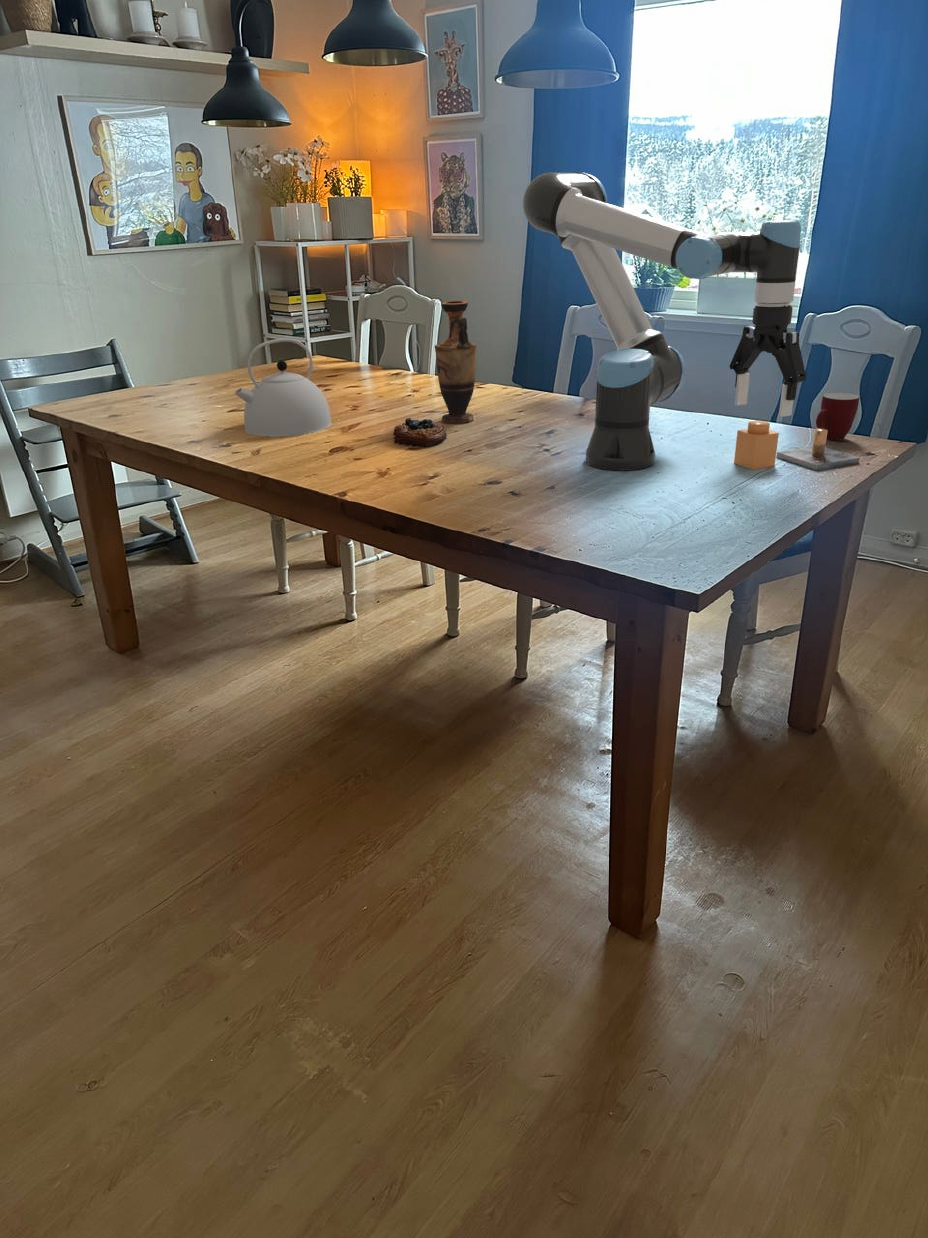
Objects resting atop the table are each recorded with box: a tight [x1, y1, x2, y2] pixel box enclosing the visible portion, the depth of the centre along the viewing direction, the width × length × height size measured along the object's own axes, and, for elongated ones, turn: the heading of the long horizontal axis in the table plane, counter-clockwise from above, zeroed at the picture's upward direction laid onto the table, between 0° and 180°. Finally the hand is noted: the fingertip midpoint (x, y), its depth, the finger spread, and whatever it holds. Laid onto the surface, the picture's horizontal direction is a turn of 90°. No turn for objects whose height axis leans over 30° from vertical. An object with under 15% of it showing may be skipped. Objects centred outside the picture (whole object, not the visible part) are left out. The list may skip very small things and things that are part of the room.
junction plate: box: [776, 428, 860, 472], centre depth 195 cm, size 12×12×7 cm
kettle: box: [233, 338, 332, 438], centre depth 232 cm, size 25×23×23 cm
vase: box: [434, 300, 478, 424], centre depth 232 cm, size 11×11×30 cm
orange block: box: [733, 420, 780, 471], centre depth 192 cm, size 6×6×9 cm
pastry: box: [392, 417, 448, 448], centre depth 219 cm, size 11×12×6 cm
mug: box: [815, 392, 860, 441], centre depth 210 cm, size 11×8×10 cm
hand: (762, 410), depth 189 cm, fingers open, 13 cm apart
